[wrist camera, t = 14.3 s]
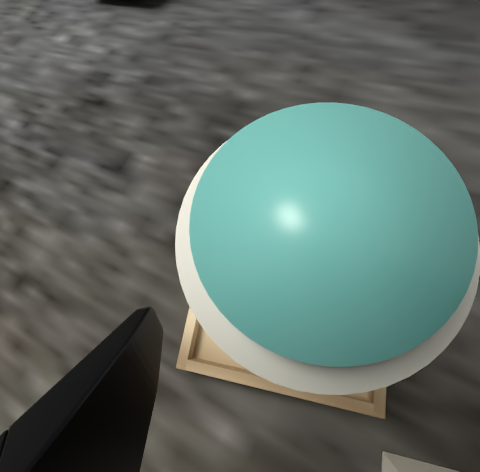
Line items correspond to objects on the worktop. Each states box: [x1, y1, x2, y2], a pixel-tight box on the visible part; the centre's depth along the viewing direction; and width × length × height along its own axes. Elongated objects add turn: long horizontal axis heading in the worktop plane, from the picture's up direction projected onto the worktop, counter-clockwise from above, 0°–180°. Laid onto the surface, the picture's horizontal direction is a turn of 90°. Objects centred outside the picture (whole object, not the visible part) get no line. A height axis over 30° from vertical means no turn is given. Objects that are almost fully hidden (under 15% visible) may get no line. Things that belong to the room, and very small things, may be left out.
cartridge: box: [175, 103, 480, 395], centre depth 11 cm, size 6×6×14 cm
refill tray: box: [176, 308, 386, 419], centre depth 17 cm, size 12×12×2 cm
